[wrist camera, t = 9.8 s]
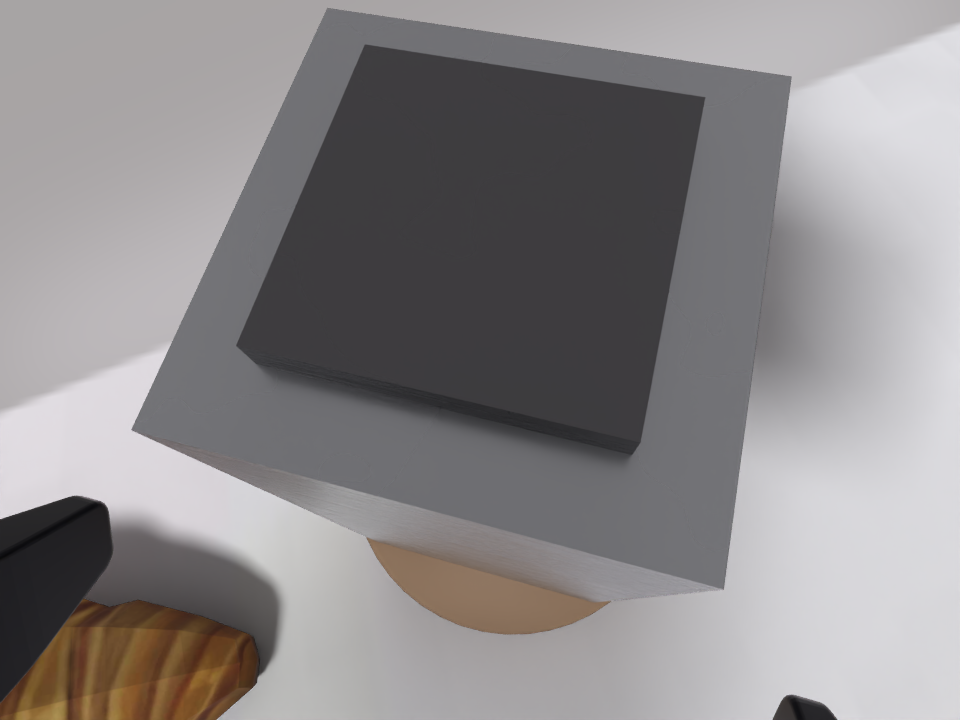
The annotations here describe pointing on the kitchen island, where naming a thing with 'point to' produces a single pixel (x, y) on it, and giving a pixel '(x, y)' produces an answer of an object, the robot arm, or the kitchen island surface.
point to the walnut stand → (480, 595)
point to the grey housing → (493, 304)
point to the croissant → (136, 667)
